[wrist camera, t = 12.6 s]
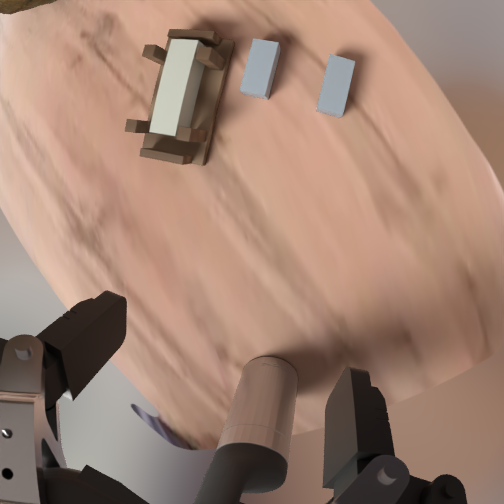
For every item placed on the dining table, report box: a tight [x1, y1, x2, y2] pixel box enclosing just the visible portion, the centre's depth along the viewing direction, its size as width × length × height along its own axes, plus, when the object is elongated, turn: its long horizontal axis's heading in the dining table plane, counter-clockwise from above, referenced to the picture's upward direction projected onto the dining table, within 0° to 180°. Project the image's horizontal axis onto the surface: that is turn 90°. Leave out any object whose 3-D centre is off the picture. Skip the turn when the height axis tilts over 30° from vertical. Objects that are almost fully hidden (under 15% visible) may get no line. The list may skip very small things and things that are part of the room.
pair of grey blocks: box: [240, 38, 355, 118], centre depth 31 cm, size 7×12×3 cm, turn 77°
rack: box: [125, 29, 235, 166], centre depth 33 cm, size 17×9×7 cm, turn 167°
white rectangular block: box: [149, 39, 206, 136], centre depth 32 cm, size 4×12×4 cm, turn 167°
